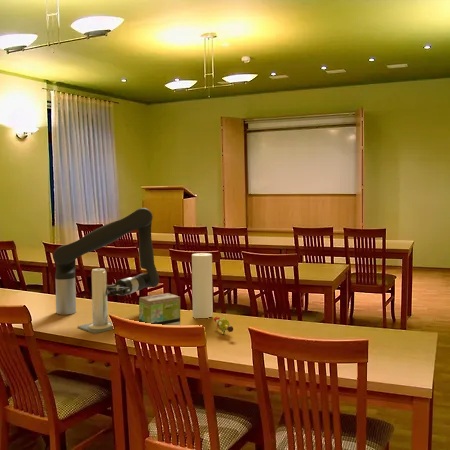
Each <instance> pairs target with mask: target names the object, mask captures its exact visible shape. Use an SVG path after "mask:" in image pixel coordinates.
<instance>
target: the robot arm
mask: <svg viewBox="0 0 450 450" xmlns="http://www.w3.org/2000/svg"><path fill="white" fill-rule="evenodd" d="M153 218H154V217H153V213H152V211H151V210H150V209H148V208H146V207H141V208H140V207H139V208H138V209H136V210H134V211H132V212H131V213H130V214H128V215H127V216H125V217H123V218H120V219H117V220H115V221H111V222H109V223H107V224H104V225H102V226H101V227H98V228H96V229H94V230H92V231H90V232H89V233H87V234H85V235H84V236H82V237H81V238H79V239H78V240H76V241H73V242H71V243H68V244H62V245H60V246H58V247H57V248H56V249H54V252H53V255H52V256H53V257H52V259H53V261H54V262H55V275H54V278H55V279H54V280H55V312H56V314H57V315H62V316H63V315H67V316H68V315H72V314H75V313H77V293H76V269H77V268H76V259H78V258H79V257H81V256H84V255H85V254H89V253H91V252H94V251H96V250H99V249H102V248H104V247H106V246H108V245H110V244H112V243H113V242H116V241H117V240H119V239H121V238H122V237H123V236H125V235H127V234H129V233H131V232H132V231H135V230H137V233H138V256H139V266H140V268H141V269H143V270H146V272H144V273H140V274H137V275H135V276H132V277H125V278H121V279H117V280H116V281H115V283H113V284H108V283H107V294H108V295H109V297H112V296H116V295H117V296H120V297H122V296H123V297H124V296H126V295H131V294H133V293H135V292H139V291H141V290H143V289H144V288H156V287H157V286H158V285H159V282H160V277H159V272H158V269H157V268H156V265H155V257H154V255H155V254H154V247H153V240H152V222H153Z"/></svg>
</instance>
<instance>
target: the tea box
mask: <svg viewBox="0 0 450 450" xmlns="http://www.w3.org/2000/svg"><path fill="white" fill-rule="evenodd" d="M138 299H139V300H138V304H139V305H138V306H139V307H138V313H139V314H138V317H139V318H138V323H139V322H145V323H151V324H162V325H180V326H181V296H178V295H176V294H172V293H170V292H166V293H160V294H156V295H147V296H140V297H139V298H138Z"/></svg>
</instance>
